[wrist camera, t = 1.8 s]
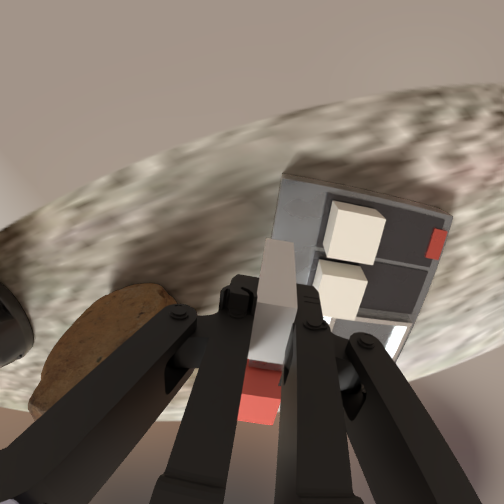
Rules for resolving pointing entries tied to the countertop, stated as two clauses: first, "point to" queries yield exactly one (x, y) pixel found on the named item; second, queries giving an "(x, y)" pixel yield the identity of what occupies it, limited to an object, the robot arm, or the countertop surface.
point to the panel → (378, 275)
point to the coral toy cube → (260, 395)
